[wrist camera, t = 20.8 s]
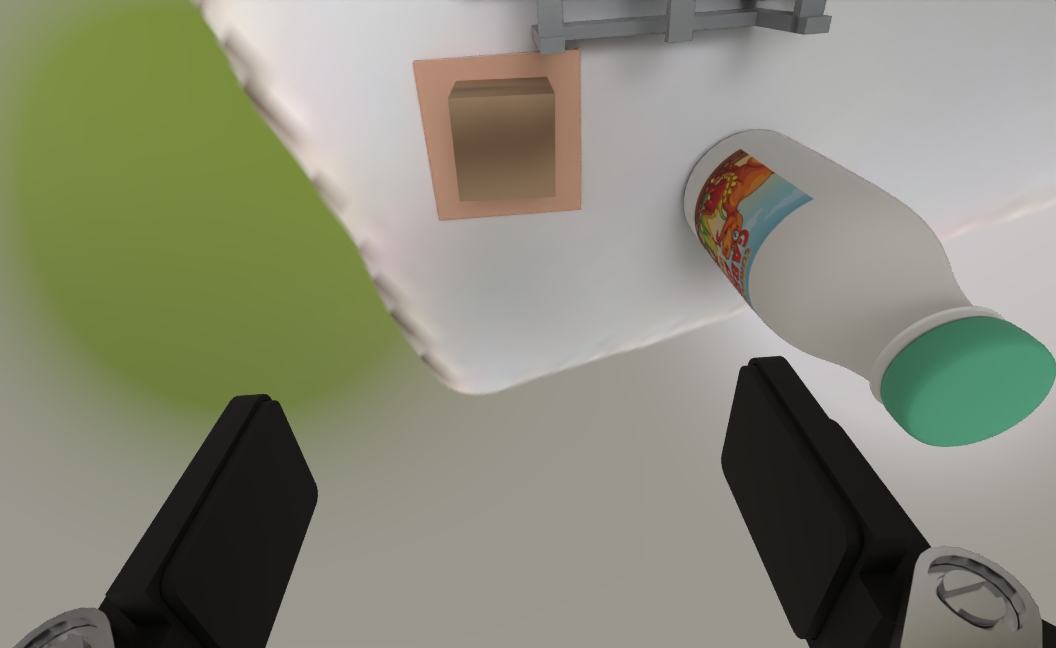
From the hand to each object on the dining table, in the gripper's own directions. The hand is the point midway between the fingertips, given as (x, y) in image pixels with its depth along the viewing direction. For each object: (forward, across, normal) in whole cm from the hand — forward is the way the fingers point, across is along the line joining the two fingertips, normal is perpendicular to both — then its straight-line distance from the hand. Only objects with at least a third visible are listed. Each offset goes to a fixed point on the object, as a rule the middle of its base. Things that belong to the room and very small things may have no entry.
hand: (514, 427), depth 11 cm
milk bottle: (+24, -15, +4) cm, 29 cm away
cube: (+23, 0, -1) cm, 23 cm away
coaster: (+24, 0, 0) cm, 24 cm away
